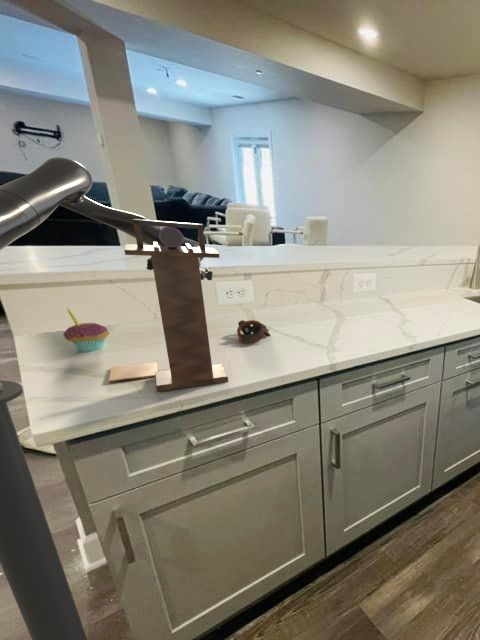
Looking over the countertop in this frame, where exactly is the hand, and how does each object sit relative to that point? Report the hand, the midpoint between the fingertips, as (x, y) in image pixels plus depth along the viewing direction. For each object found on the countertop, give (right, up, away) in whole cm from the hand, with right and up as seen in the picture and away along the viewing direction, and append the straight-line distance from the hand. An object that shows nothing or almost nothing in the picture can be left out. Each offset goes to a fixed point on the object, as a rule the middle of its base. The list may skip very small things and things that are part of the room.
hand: (179, 273), depth 101 cm
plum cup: (+7, +4, -11) cm, 14 cm away
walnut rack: (+7, -28, -5) cm, 29 cm away
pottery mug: (+6, -17, +23) cm, 30 cm away
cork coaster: (-7, -26, -5) cm, 27 cm away
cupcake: (-27, -20, +4) cm, 34 cm away
